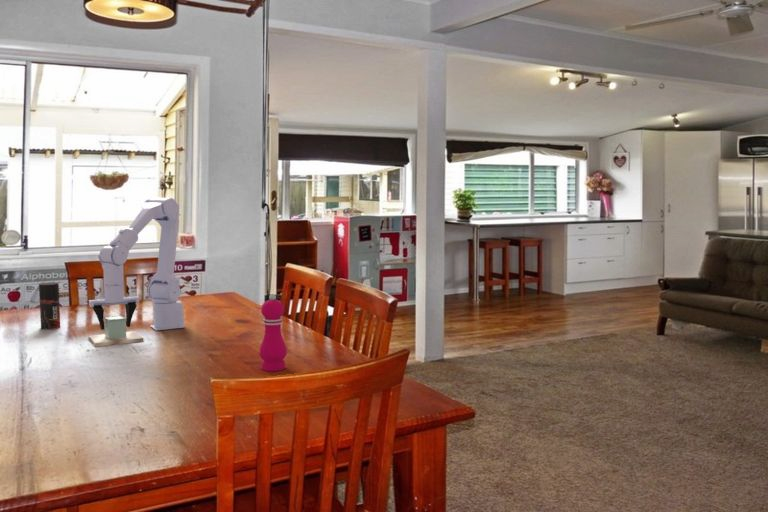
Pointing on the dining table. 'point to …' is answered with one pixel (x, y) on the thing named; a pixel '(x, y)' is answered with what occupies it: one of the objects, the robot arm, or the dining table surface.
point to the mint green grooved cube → (115, 327)
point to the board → (102, 340)
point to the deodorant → (49, 305)
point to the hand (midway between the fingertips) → (115, 327)
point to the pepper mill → (272, 336)
